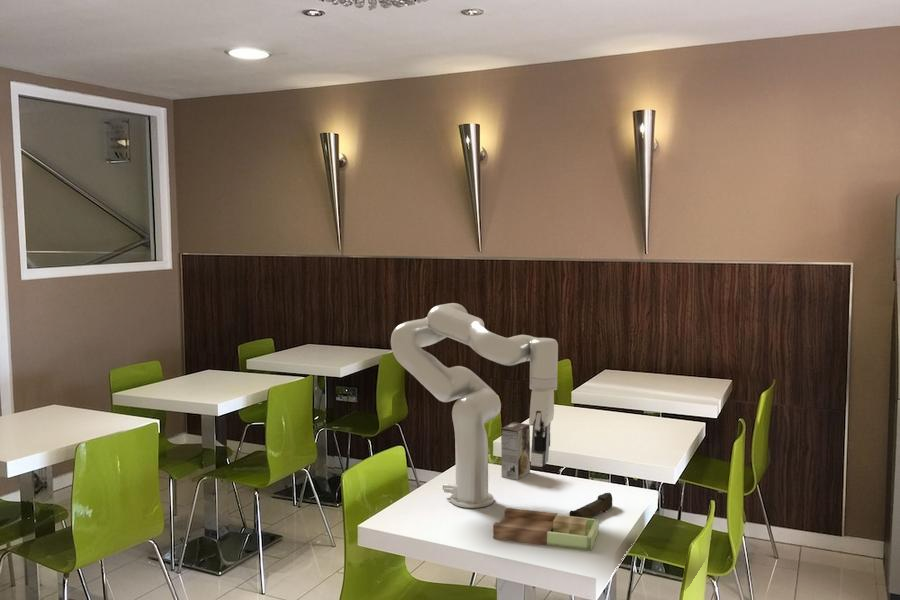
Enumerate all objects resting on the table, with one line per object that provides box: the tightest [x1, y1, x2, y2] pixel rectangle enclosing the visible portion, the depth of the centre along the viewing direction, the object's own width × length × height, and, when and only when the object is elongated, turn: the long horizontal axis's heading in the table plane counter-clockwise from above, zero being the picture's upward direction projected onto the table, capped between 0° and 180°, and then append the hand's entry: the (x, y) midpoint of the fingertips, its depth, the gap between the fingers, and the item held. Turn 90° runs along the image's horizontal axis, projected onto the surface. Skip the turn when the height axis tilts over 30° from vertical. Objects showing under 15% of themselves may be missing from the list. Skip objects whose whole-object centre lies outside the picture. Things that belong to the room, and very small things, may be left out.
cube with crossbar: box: [530, 419, 552, 468], centre depth 211 cm, size 4×8×12 cm, turn 160°
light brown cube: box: [553, 515, 572, 534], centre depth 197 cm, size 4×4×4 cm
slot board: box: [492, 507, 558, 546], centre depth 200 cm, size 14×13×4 cm
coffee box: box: [500, 421, 531, 480], centre depth 248 cm, size 9×6×16 cm
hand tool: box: [568, 492, 613, 518], centre depth 212 cm, size 19×4×5 cm, turn 134°
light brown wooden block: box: [569, 517, 587, 536], centre depth 196 cm, size 4×4×4 cm
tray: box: [546, 514, 600, 551], centre depth 196 cm, size 11×13×3 cm
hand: (542, 447), depth 211 cm, fingers closed on cube with crossbar, 4 cm apart
